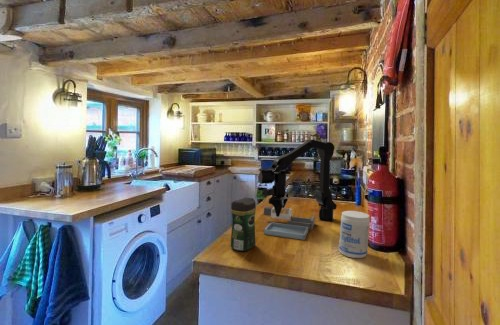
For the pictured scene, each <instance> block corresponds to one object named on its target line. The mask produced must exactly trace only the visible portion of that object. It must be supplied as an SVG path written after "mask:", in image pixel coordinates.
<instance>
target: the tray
mask: <svg viewBox="0 0 500 325" xmlns="http://www.w3.org/2000/svg"><path fill="white" fill-rule="evenodd" d="M308 232H309V229H308V227H304V226H297V225H289V224H287V223H280V222H270V223H268V224H267V226H265V228H264V229H263V234H264V235H268V236H275V237H281V238H288V239H295V240H302V241H304V240H305V239H306V237H307V235H308Z"/></svg>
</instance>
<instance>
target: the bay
mask: <svg viewBox="0 0 500 325" xmlns="http://www.w3.org/2000/svg"><path fill="white" fill-rule="evenodd" d="M286 224H289V225H297V226H304V227H308V230H310V231H311V230H313V229H314V226H315V215H312V216H311V218H309V217H299V216H293V215H292V217H291V218H290V220H287V221H286Z"/></svg>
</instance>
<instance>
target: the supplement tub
mask: <svg viewBox="0 0 500 325" xmlns="http://www.w3.org/2000/svg"><path fill="white" fill-rule="evenodd" d="M370 220H371V219H370V215H369V214H368V213H366V212H363V211H362V212H361V211H358V210H345V211H342V212H341V218H340V230H339V242H338V251H339V252H340V254H342V255H343V256H345V257H348V258H351V259H363V258H366V256H367V255H368V245H369V234H370V223H371V222H370Z"/></svg>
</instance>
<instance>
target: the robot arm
mask: <svg viewBox="0 0 500 325" xmlns="http://www.w3.org/2000/svg"><path fill="white" fill-rule="evenodd" d="M311 149H314V150H316V151H317V154H318V157H319V159H320V167H319V169H320V170H319V186H318V187H319V188H318V189H317V190H315V191H314V193H315V196H314V199H315V201H316V202H317V204H318V206H319V207H320V209H319V211H318V218H319V221H326V222H333V221H334V210H336V209H337V206H338V205H337V204H336V203H335V202H334V200H333V195H332V192H331V189H330V181H331V180H330V178H331V177H330V176H331V160H332V158H333V156H334V153H335V144H333V143H332V142H330V141H319V140H315V139H307V140H306V141H304V142H303V143H302V144H300V145H299V146H297V147H296V148H294V149H292V150H291V151H289V152H287V153H285V154H282V155H279V156H276V157H275V158H274V159H273V162H272V165H270V167H269V168H268V169H261V168H260V169H259V174H258V177H257V178H258V183H259V184H262V185H265V184H273V185H272V187H270V188H263V189H262V193H261V195H262V196H263V198H267V197H269V196H270V198H269V199H268V204H270V205H272V207H274V208H275V212H276V216H277V217H279V215H280V212H281V210H282V208H286V204H287V202H288V200H289V198H290V192H288V191H287V188H288V184H287V175H291V174H292V173H291V172H290V170H289V169H288V168H289V167H290V166H291V165H292V164H293V162H294V161H295V160H296V159H299V158H300V157H301V156H303V155H304V154H306V153H307V152H309V151H310V150H311Z"/></svg>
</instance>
